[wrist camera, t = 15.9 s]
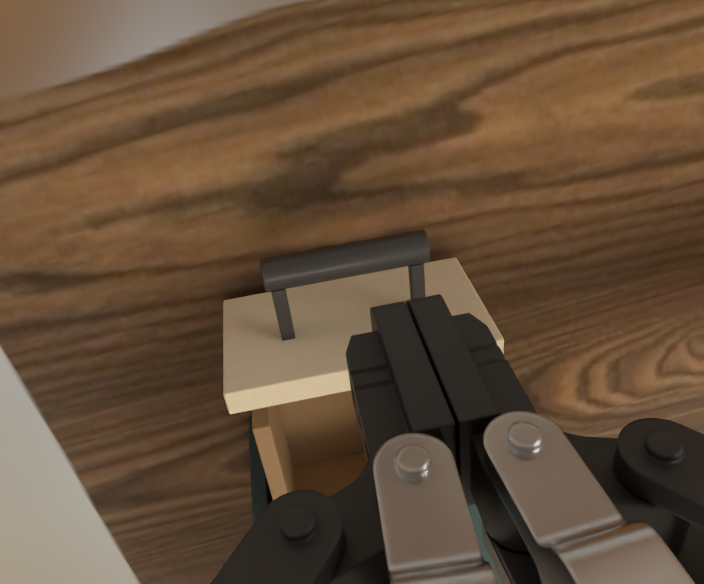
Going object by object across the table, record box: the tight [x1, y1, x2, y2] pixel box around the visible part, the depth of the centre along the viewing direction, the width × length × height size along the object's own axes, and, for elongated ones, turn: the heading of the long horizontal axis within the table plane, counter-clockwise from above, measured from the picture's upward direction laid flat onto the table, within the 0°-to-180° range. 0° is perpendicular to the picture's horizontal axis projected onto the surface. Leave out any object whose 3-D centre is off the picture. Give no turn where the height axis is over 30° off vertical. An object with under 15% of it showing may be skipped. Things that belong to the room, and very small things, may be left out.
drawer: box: [223, 230, 504, 500], centre depth 31 cm, size 17×12×7 cm
